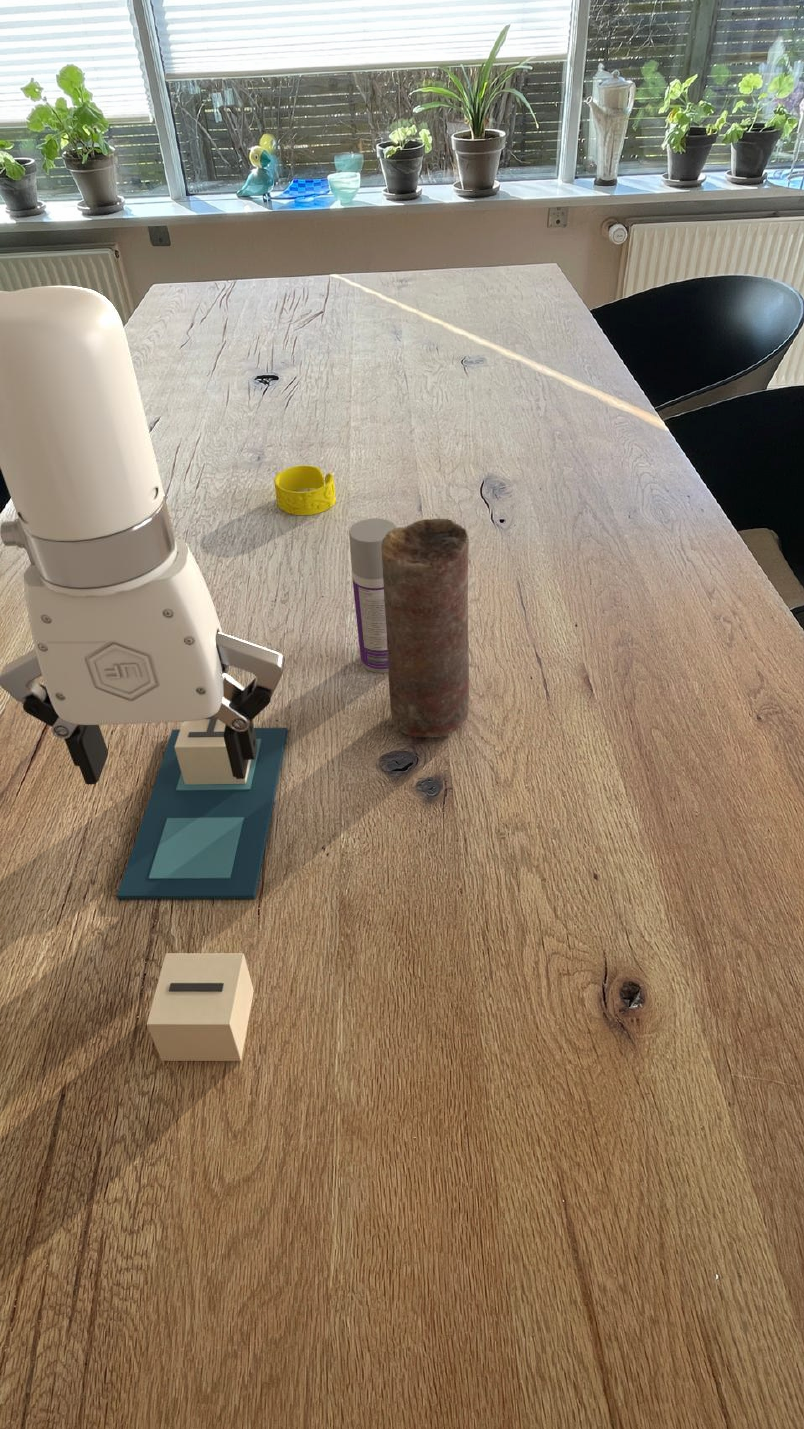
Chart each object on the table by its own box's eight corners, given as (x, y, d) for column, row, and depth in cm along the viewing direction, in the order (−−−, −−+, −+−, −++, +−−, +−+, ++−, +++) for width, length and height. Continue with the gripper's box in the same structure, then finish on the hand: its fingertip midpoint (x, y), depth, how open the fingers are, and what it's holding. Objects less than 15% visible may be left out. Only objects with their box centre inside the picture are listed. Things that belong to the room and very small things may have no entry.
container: (366, 644, 100) (354, 516, 90) (410, 647, 99) (402, 518, 89) (355, 671, 96) (342, 541, 87) (401, 675, 95) (392, 544, 86)
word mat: (117, 899, 75) (115, 895, 75) (173, 733, 90) (172, 728, 90) (254, 899, 74) (253, 894, 74) (287, 731, 90) (287, 726, 89)
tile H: (184, 784, 84) (173, 746, 81) (197, 743, 88) (187, 705, 85) (246, 784, 84) (237, 745, 81) (255, 742, 88) (247, 704, 85)
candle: (477, 742, 87) (477, 552, 74) (398, 754, 86) (384, 565, 73) (460, 691, 93) (456, 507, 80) (386, 702, 92) (370, 518, 79)
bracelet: (306, 521, 121) (302, 498, 119) (265, 503, 125) (261, 480, 123) (347, 499, 125) (344, 476, 123) (305, 482, 129) (302, 460, 127)
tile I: (161, 1060, 64) (145, 1023, 61) (178, 990, 68) (165, 952, 66) (241, 1061, 64) (229, 1023, 61) (254, 990, 68) (243, 952, 65)
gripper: (-82, 582, 49) (23, 813, 60) (251, 566, 48) (295, 803, 59) (-30, 511, 55) (57, 734, 66) (268, 497, 54) (305, 724, 65)
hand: (170, 767), depth 62 cm, fingers open, 9 cm apart
